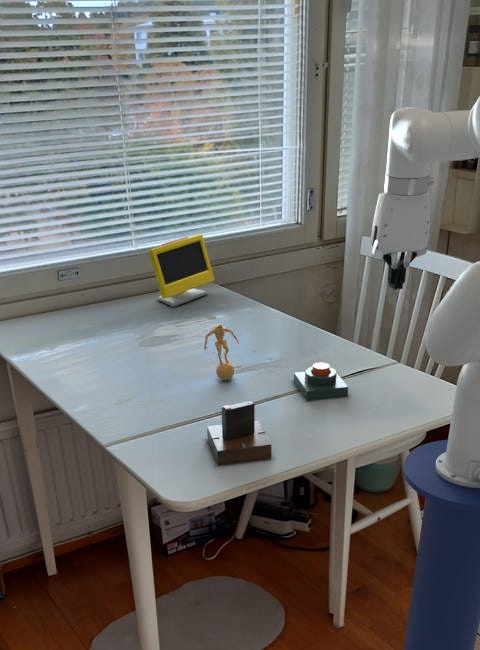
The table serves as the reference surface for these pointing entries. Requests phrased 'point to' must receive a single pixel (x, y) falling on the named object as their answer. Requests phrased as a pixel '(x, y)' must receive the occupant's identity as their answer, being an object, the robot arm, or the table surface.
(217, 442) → the panel
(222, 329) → the figurine
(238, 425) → the handle
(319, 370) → the button
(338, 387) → the box
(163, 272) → the toy computer monitor
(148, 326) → the table surface
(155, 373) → the table surface
